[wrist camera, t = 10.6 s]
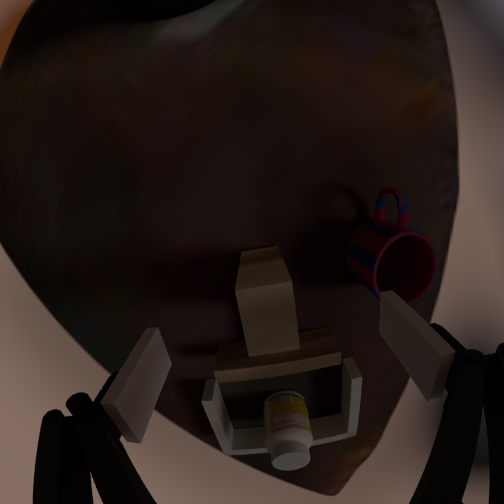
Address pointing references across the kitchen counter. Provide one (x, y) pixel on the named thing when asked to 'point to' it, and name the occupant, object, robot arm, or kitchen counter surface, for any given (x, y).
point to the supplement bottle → (287, 430)
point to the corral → (321, 427)
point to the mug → (392, 253)
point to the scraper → (271, 326)
